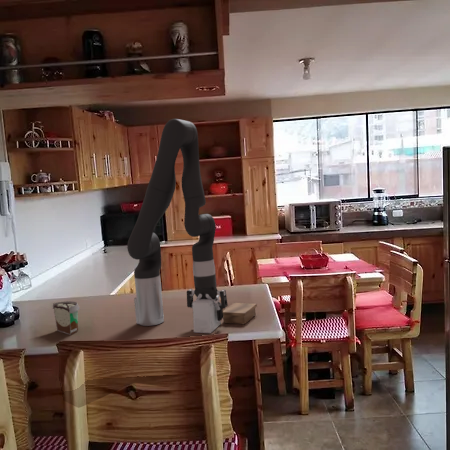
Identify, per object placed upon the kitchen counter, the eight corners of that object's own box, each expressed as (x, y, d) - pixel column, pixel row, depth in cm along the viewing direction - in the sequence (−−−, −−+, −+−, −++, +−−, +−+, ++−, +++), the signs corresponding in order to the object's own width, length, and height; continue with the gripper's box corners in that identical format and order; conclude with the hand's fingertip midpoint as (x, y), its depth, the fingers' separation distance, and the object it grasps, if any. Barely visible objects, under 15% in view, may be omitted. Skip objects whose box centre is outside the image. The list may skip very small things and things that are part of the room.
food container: (88, 330, 174) (85, 303, 173) (73, 335, 169) (70, 307, 168) (70, 325, 182) (67, 299, 181) (55, 330, 177) (52, 303, 176)
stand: (221, 323, 171) (221, 312, 171) (234, 313, 182) (233, 302, 182) (245, 324, 168) (244, 313, 167) (257, 314, 179) (256, 303, 178)
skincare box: (211, 333, 161) (209, 302, 160) (193, 332, 163) (191, 302, 162) (222, 323, 171) (219, 294, 170) (204, 323, 173) (202, 294, 172)
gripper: (228, 270, 166) (231, 317, 167) (190, 270, 171) (194, 315, 173) (219, 275, 159) (223, 324, 160) (180, 275, 164) (184, 322, 166)
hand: (208, 319), depth 167 cm, fingers open, 8 cm apart
